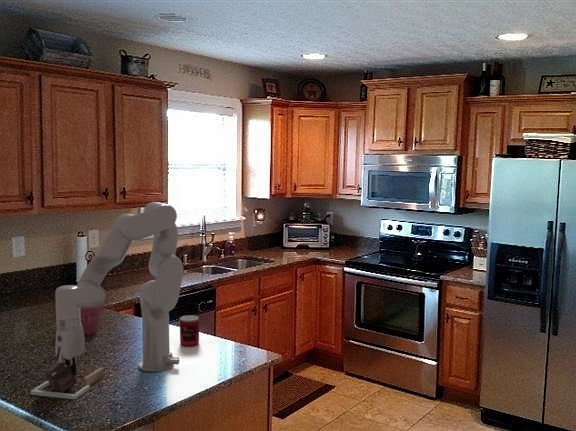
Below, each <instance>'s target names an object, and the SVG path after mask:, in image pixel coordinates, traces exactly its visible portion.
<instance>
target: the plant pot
mask: <svg viewBox="0 0 576 431" xmlns="http://www.w3.org/2000/svg"><path fill="white" fill-rule="evenodd" d="M103 307H104V306H103V303H102V304H100V305H99V306H95V307H80V315H81V324H82V327H83V331H84V336H86V335H92V334H96V333H97V332H98V330H99V325H100V324H99V323H100V318H101V312H103Z"/></svg>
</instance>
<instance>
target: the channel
mask: <svg viewBox="0 0 576 431" xmlns="http://www.w3.org/2000/svg"><path fill="white" fill-rule="evenodd" d="M104 376H105V367H99V368H96V369H95V370H93V371H92V372H91V373H88V375H86V376H85V377H83V388H84V387H85V386H87V385H90V386H92V385H94V383H96V382H98V381H99V380H101V379H102V378H103V377H104Z"/></svg>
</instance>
